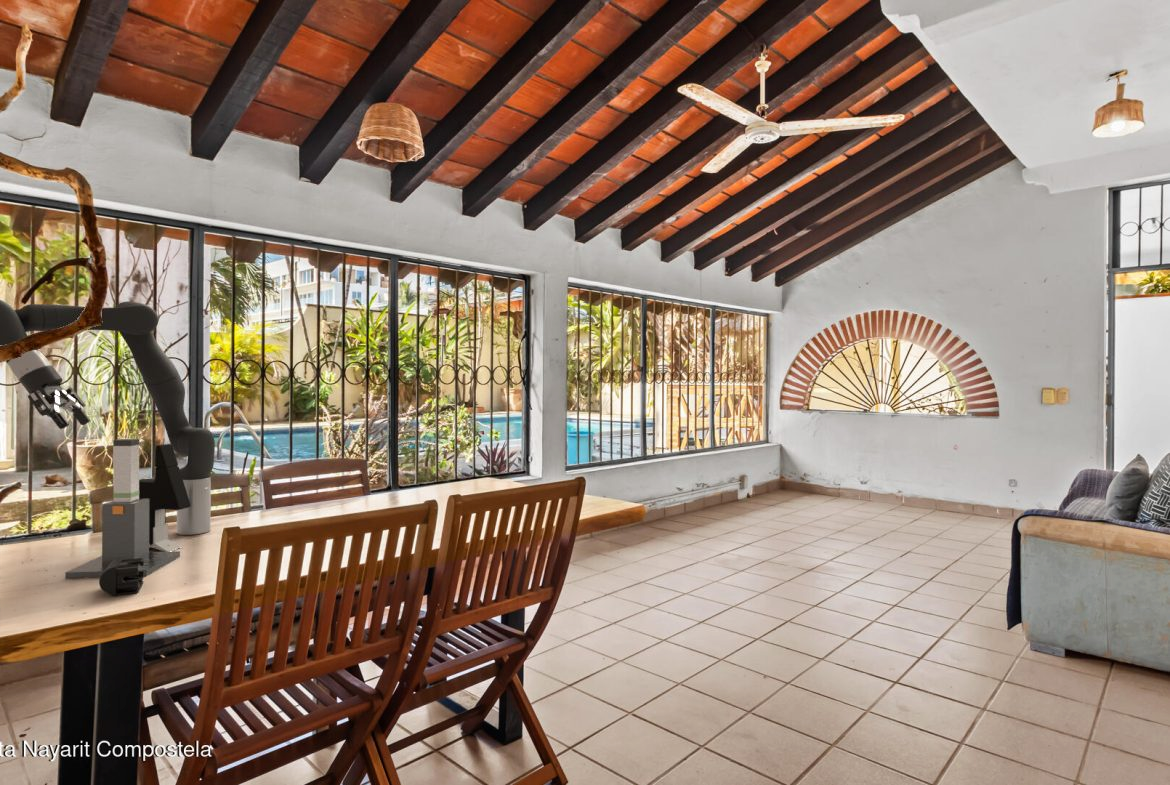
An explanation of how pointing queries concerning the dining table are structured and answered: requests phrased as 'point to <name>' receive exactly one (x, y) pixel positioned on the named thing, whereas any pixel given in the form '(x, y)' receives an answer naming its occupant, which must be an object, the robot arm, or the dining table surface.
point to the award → (163, 496)
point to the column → (126, 470)
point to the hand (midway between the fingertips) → (76, 425)
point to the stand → (124, 540)
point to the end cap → (122, 577)
